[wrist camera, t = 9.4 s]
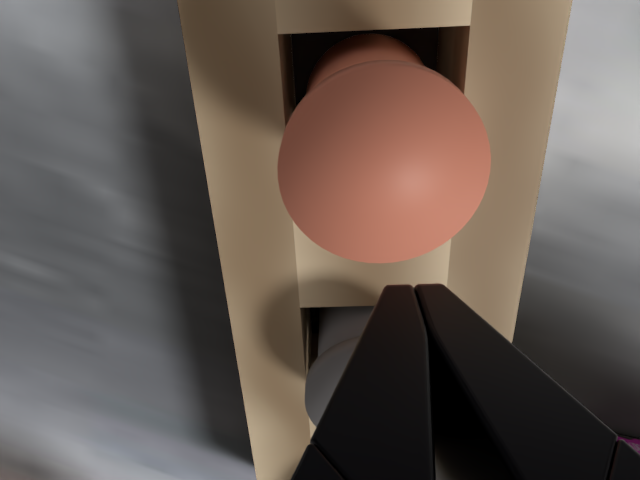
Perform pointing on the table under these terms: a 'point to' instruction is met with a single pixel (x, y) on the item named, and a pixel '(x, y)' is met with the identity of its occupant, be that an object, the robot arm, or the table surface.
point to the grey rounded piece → (332, 354)
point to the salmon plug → (381, 154)
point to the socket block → (284, 235)
